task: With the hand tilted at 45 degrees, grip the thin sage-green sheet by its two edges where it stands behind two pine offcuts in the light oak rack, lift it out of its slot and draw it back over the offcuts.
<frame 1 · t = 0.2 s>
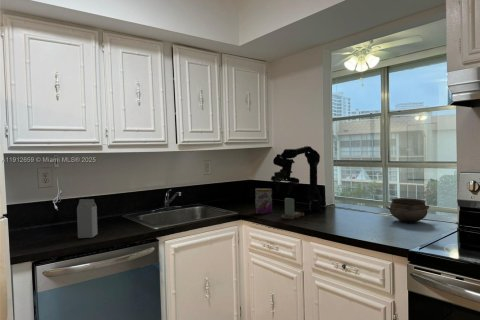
hand: (282, 193, 198), 15 cm above the worktop, tool tilted 15°, fingers open, 9 cm apart
candy bar box: (263, 213, 214), on the worktop
cooking pot: (408, 222, 182), on the worktop
offcut upper: (294, 215, 199), point 1 cm above the worktop, touching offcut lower
panel: (289, 219, 195), on the worktop
rack: (289, 218, 195), on the worktop
milk carton: (87, 236, 164), on the worktop
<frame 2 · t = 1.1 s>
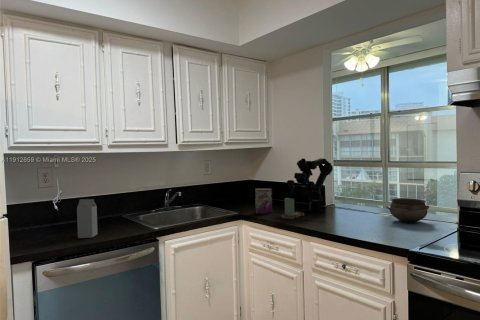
hand: (296, 195, 201), 13 cm above the worktop, tool tilted 45°, fingers open, 9 cm apart
offcut upper: (294, 216, 199), point 1 cm above the worktop
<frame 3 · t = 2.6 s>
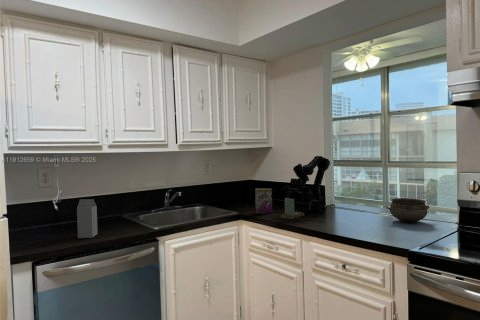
hand: (292, 201, 197), 10 cm above the worktop, tool tilted 45°, fingers open, 9 cm apart
offcut upper: (294, 216, 199), point 1 cm above the worktop, touching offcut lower
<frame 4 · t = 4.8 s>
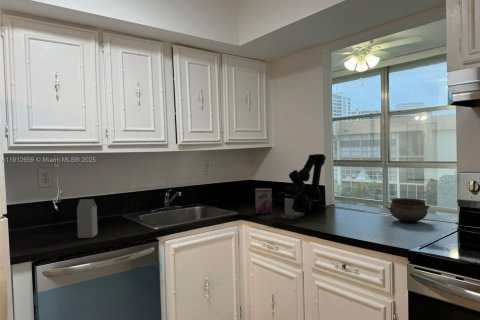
hand: (288, 208, 194), 7 cm above the worktop, tool tilted 45°, fingers closed on panel, 5 cm apart
panel: (289, 219, 195), on the worktop, touching gripper
everything else where it was.
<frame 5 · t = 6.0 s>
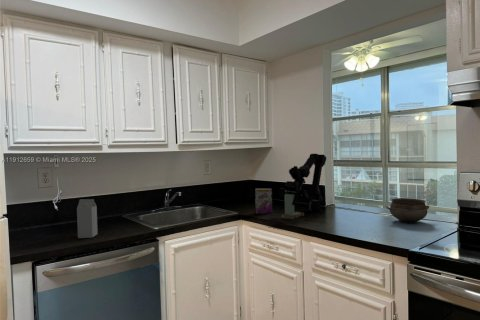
hand: (288, 204, 194), 9 cm above the worktop, tool tilted 45°, fingers closed on panel, 5 cm apart
panel: (289, 215, 195), point 2 cm above the worktop, touching gripper
everything else where it was.
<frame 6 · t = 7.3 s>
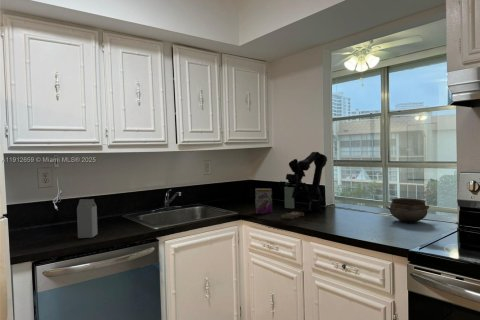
hand: (288, 197, 194), 13 cm above the worktop, tool tilted 45°, fingers closed on panel, 5 cm apart
panel: (289, 207, 195), point 7 cm above the worktop, touching gripper
everything else where it was.
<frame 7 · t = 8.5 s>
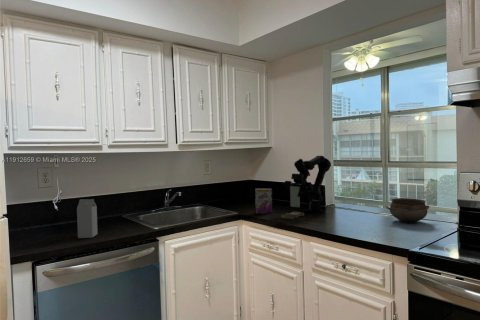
hand: (293, 196, 199), 13 cm above the worktop, tool tilted 45°, fingers closed on panel, 5 cm apart
offcut upper: (294, 216, 200), point 1 cm above the worktop, touching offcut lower, rack
panel: (295, 206, 200), point 7 cm above the worktop, touching gripper
everything else where it was.
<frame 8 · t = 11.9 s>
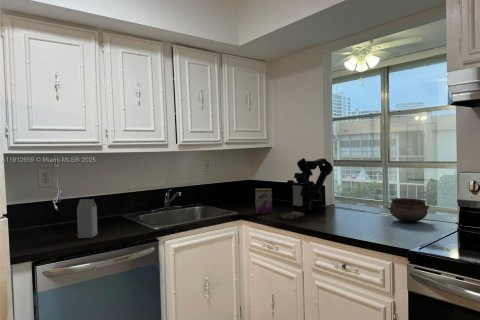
hand: (296, 195, 201), 14 cm above the worktop, tool tilted 45°, fingers closed on panel, 5 cm apart
offcut upper: (294, 216, 199), point 1 cm above the worktop, touching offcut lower
panel: (297, 205, 202), point 7 cm above the worktop, touching gripper
everything else where it was.
at the end: the gripper is holding panel; panel point 6.9 cm above the worktop; panel moved 11.8 cm from its start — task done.
